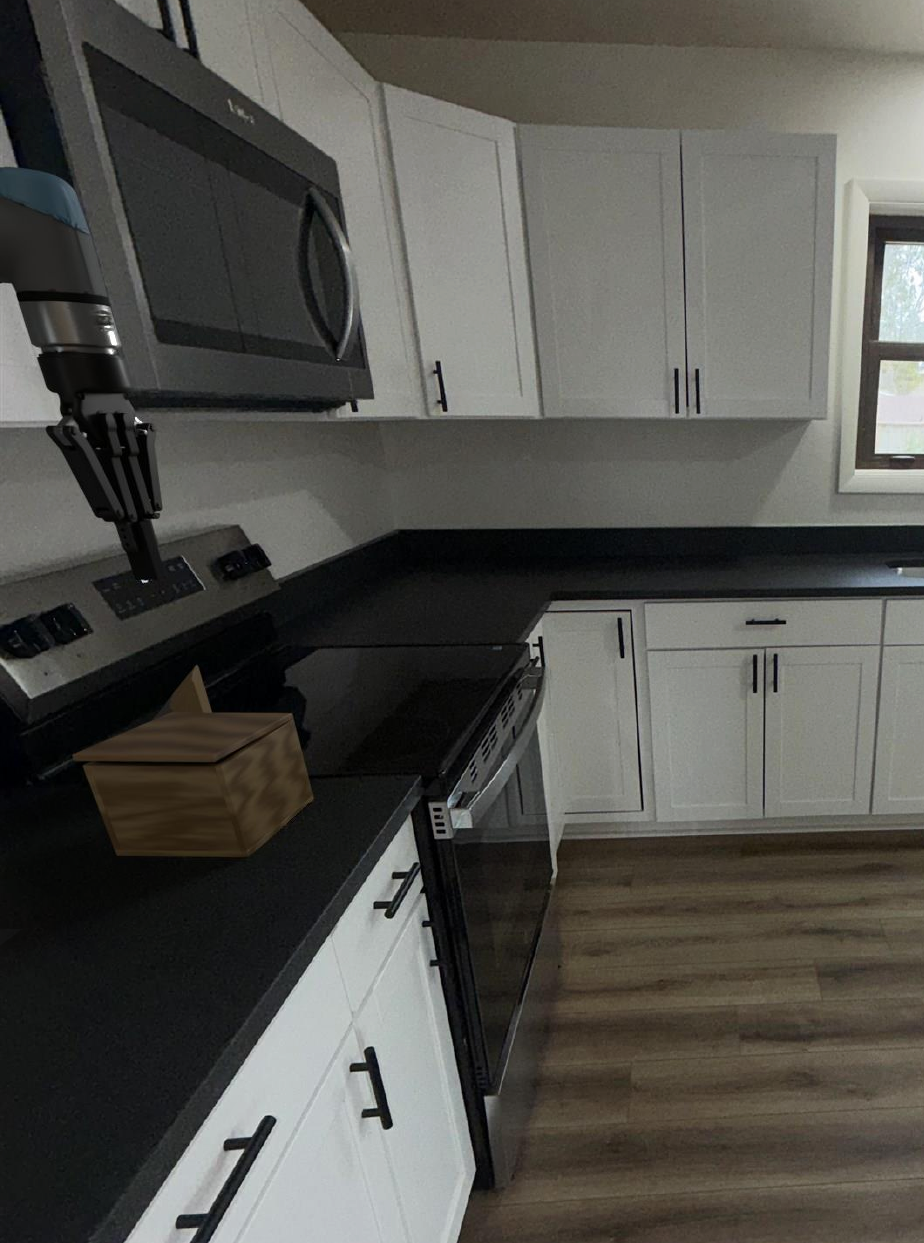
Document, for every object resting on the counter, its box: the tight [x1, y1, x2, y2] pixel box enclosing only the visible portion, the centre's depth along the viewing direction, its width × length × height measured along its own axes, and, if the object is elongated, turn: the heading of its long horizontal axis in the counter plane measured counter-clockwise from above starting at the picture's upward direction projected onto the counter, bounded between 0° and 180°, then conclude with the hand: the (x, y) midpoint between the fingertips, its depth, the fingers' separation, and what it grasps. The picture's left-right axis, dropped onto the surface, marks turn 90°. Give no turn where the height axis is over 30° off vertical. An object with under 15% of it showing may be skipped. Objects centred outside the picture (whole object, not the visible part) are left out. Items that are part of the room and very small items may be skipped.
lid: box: [71, 712, 294, 762], centre depth 100 cm, size 16×17×1 cm
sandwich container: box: [152, 664, 213, 720], centre depth 118 cm, size 9×15×15 cm, turn 118°
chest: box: [82, 718, 315, 858], centre depth 104 cm, size 16×17×12 cm
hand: (150, 578), depth 94 cm, fingers closed
